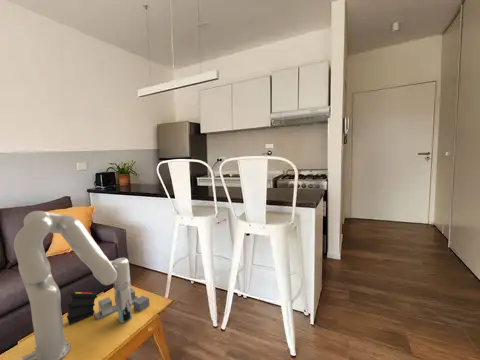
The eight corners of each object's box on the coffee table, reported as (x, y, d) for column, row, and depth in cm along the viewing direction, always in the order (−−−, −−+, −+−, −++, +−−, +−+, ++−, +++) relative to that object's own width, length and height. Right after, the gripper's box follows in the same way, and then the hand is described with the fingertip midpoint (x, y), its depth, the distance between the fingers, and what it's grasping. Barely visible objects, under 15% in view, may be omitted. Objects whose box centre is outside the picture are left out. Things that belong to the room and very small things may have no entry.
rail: (97, 320, 128) (95, 306, 127) (94, 315, 131) (92, 302, 130) (140, 300, 143) (139, 288, 142) (136, 297, 147) (135, 285, 146)
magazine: (59, 322, 124) (72, 290, 127) (88, 320, 134) (99, 291, 136) (61, 325, 122) (74, 293, 125) (90, 324, 131) (101, 294, 134)
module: (121, 323, 125) (120, 309, 124) (118, 319, 128) (117, 306, 127) (131, 318, 129) (130, 305, 128) (128, 314, 131) (127, 301, 131)
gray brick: (140, 312, 134) (139, 304, 133) (134, 309, 136) (133, 301, 136) (149, 305, 139) (148, 298, 138) (143, 303, 141) (142, 295, 141)
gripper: (107, 280, 129) (111, 314, 131) (120, 293, 117) (124, 329, 120) (123, 275, 134) (126, 307, 137) (137, 286, 123) (139, 321, 125)
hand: (125, 317), depth 128 cm, fingers closed on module, 4 cm apart
